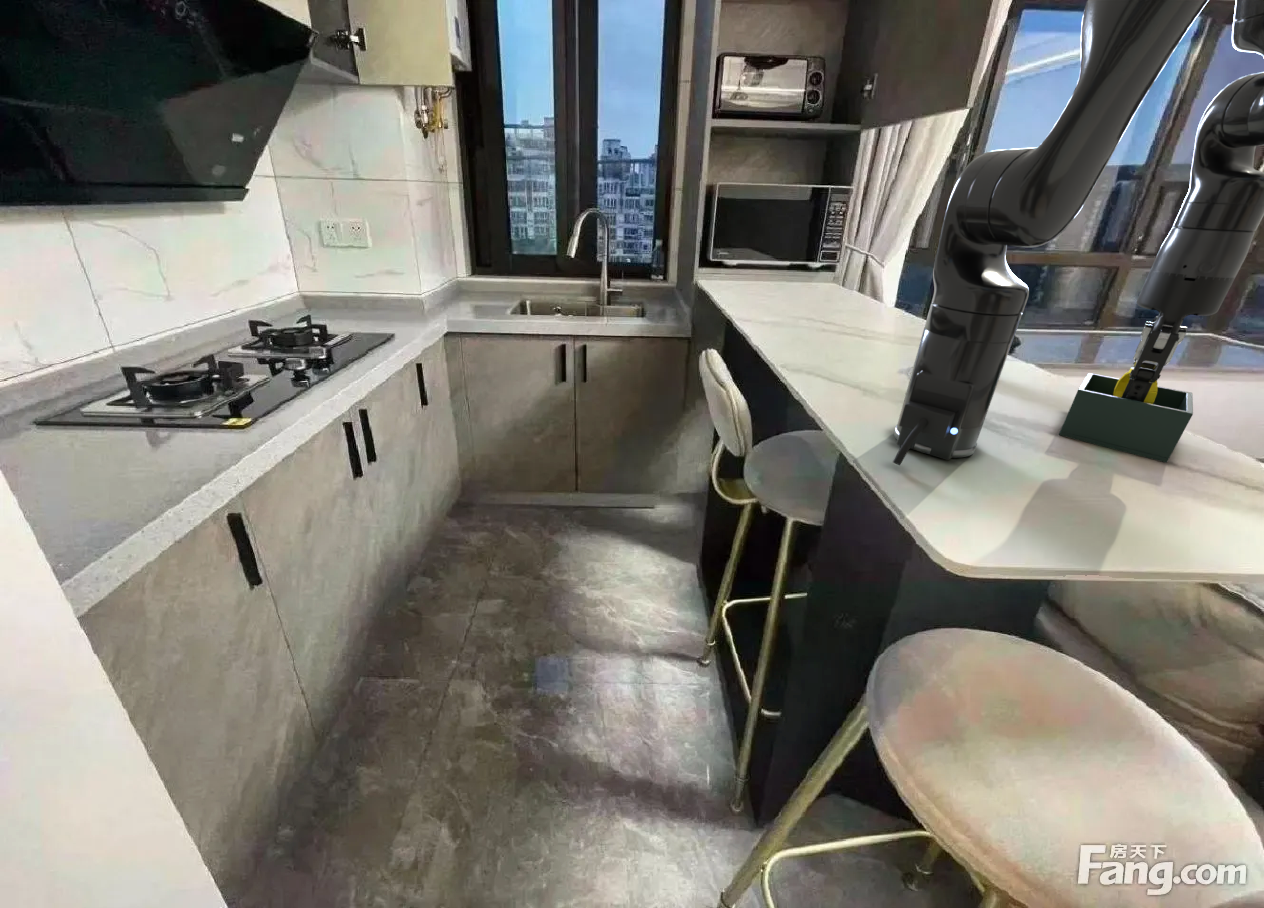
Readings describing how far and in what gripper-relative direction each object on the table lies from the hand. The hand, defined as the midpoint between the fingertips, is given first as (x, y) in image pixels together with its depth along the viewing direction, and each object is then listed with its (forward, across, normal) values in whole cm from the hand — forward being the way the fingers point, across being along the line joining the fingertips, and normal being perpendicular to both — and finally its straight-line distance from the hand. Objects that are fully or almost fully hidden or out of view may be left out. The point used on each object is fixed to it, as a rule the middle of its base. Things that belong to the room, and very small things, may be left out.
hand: (1130, 401), depth 72 cm
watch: (+2, 0, 0) cm, 2 cm away
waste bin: (+5, 0, 0) cm, 5 cm away
